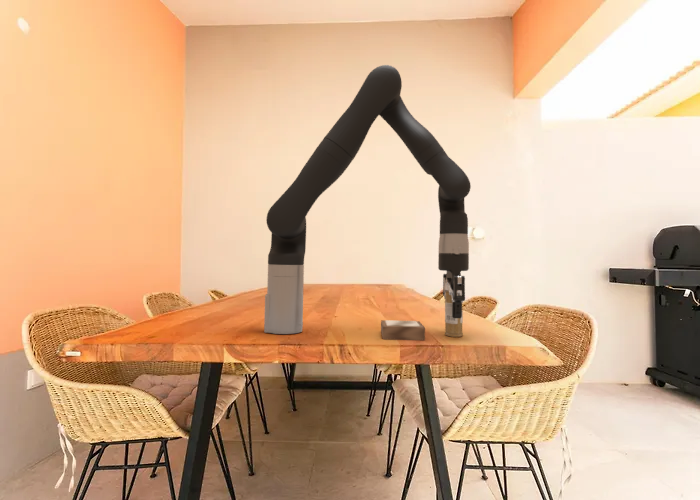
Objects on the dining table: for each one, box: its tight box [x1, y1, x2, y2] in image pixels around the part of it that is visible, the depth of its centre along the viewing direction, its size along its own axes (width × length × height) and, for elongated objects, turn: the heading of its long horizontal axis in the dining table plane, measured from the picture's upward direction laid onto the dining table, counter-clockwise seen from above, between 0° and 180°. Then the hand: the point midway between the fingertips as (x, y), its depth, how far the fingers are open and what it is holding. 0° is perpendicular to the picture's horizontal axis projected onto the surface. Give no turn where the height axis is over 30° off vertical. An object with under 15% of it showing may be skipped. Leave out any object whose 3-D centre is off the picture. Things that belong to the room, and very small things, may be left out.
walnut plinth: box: [380, 319, 426, 341], centre depth 103 cm, size 10×10×3 cm
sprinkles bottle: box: [444, 283, 464, 338], centre depth 105 cm, size 5×5×14 cm
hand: (453, 315), depth 104 cm, fingers open, 8 cm apart
